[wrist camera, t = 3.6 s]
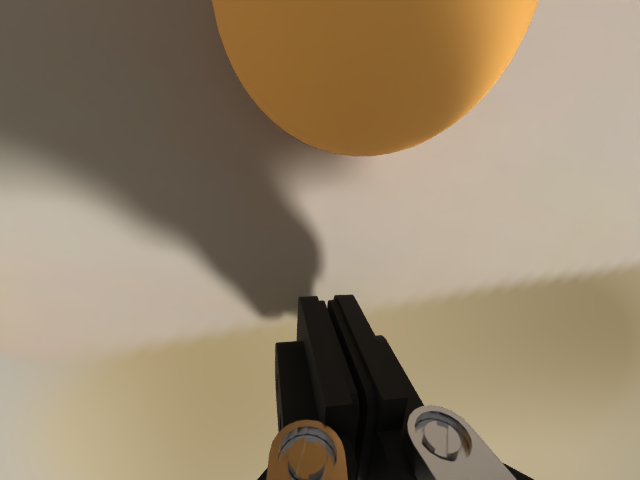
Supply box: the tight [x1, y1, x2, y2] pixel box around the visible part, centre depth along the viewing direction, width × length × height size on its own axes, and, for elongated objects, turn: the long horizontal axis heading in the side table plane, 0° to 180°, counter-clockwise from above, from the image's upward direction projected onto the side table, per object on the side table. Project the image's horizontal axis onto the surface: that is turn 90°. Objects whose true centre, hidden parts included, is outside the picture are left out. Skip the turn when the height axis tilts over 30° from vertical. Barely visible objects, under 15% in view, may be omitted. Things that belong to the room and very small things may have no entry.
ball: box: [212, 0, 538, 156], centre depth 6 cm, size 6×6×6 cm
